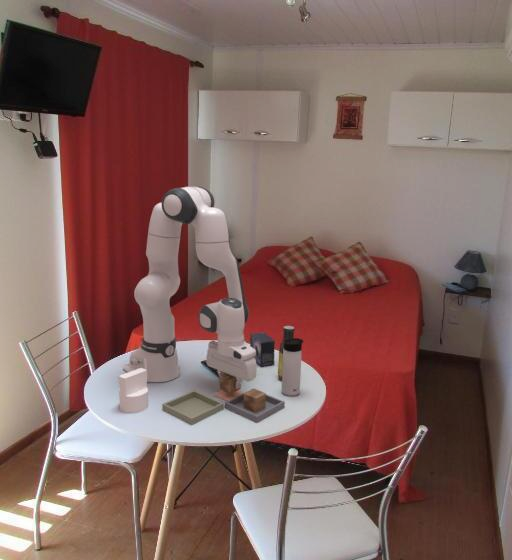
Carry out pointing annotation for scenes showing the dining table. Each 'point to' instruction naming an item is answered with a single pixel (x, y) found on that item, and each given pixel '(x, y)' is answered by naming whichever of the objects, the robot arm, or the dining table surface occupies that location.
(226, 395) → the terracotta tile
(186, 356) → the dining table surface
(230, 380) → the letter cube
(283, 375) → the travel mug
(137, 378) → the cylinder with rectangular tab
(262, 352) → the small box
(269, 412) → the tray charcoal
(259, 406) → the plain block
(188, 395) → the tray olive
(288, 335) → the sauce bottle
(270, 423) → the dining table surface
